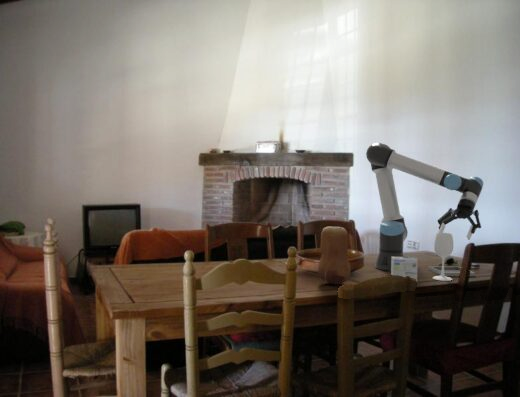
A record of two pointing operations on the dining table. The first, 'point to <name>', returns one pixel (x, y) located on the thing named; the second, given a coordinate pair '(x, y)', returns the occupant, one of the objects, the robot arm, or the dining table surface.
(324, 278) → the butternut squash
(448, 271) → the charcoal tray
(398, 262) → the light bulb box
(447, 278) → the wineglass
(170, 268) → the dining table surface
